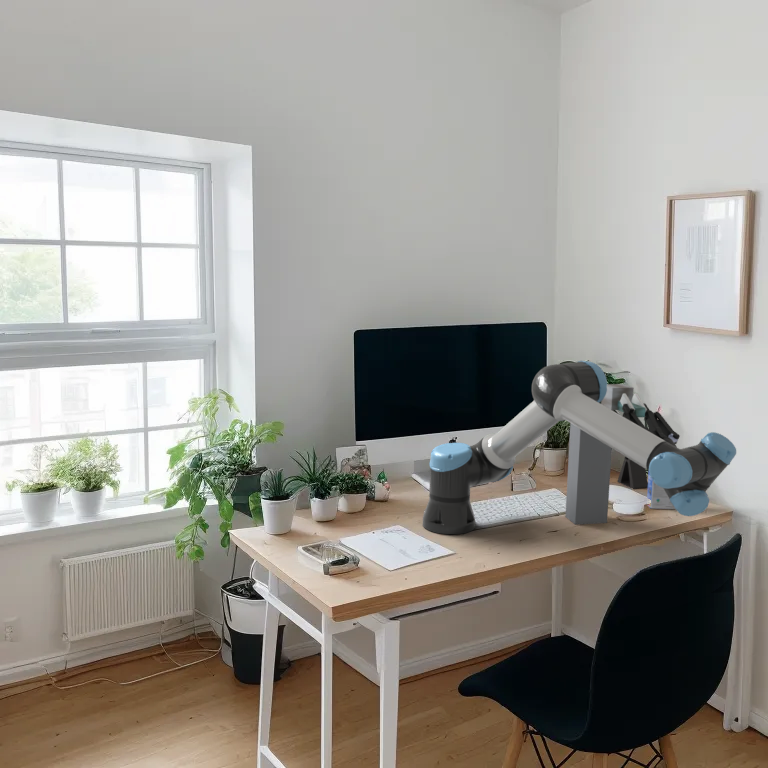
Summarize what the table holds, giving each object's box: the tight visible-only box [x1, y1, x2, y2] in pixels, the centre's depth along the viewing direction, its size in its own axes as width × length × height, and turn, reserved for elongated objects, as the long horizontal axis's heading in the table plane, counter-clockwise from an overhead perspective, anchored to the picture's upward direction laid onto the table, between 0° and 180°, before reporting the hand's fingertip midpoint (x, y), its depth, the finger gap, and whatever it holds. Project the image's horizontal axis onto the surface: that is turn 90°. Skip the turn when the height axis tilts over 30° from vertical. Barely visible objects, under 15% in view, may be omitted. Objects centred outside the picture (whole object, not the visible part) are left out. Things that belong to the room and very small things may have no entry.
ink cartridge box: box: [646, 470, 676, 510], centre depth 245 cm, size 10×6×14 cm, turn 89°
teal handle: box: [600, 383, 645, 418], centre depth 207 cm, size 6×16×6 cm, turn 10°
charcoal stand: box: [565, 422, 613, 525], centre depth 230 cm, size 10×7×32 cm
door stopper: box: [617, 456, 648, 490], centre depth 269 cm, size 9×6×12 cm, turn 19°
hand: (628, 397), depth 206 cm, fingers closed on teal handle, 2 cm apart
